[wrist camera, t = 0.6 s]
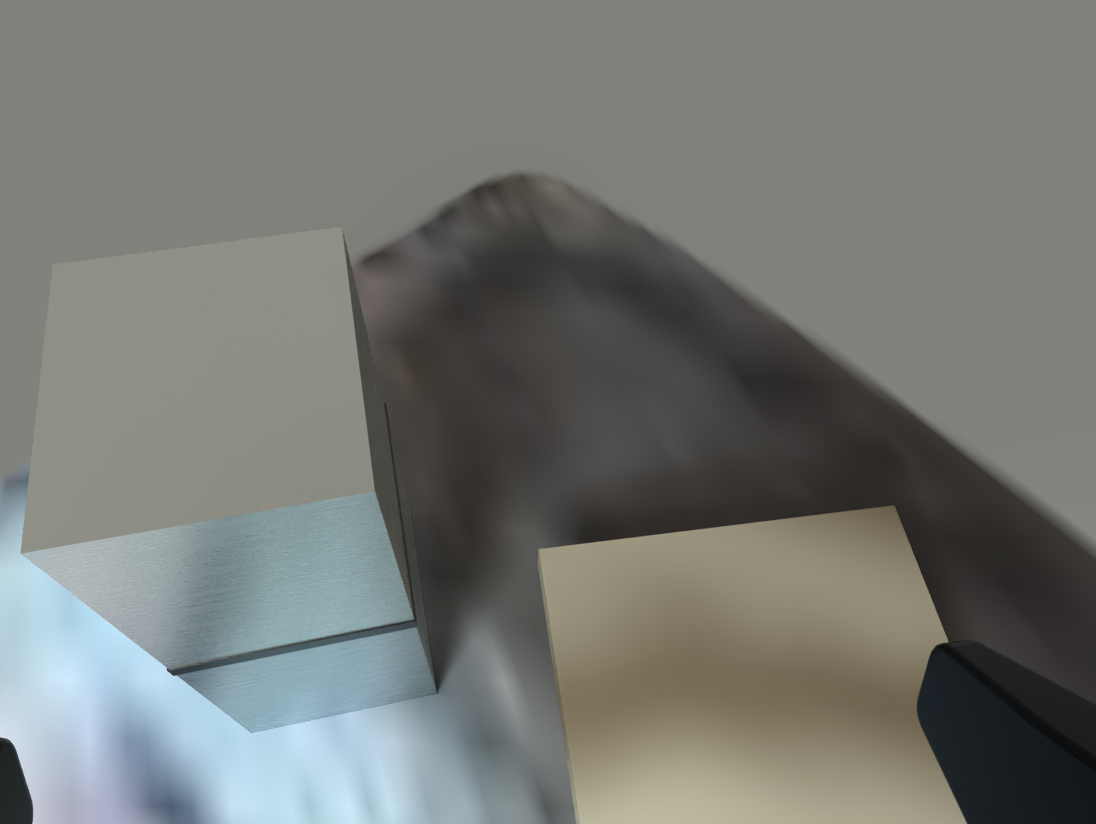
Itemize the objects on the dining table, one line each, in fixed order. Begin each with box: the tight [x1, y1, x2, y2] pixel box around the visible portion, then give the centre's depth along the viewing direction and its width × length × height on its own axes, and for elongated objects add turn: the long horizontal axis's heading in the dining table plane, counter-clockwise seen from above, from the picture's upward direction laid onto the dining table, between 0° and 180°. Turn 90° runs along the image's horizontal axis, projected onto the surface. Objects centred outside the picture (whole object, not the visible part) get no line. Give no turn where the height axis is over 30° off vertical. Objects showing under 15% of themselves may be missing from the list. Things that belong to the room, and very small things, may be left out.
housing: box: [21, 227, 437, 733], centre depth 19 cm, size 6×5×12 cm
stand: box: [538, 505, 967, 824], centre depth 22 cm, size 10×10×3 cm
